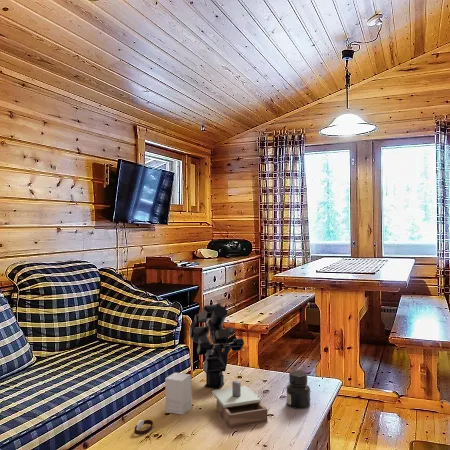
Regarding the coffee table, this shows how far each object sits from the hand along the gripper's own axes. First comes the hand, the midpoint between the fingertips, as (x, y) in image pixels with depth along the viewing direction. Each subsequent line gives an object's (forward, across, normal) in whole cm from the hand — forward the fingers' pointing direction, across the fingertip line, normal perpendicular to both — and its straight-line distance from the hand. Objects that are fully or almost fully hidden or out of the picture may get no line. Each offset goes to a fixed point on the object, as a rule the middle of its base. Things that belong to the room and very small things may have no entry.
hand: (225, 365), depth 178 cm
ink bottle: (+20, +24, -1) cm, 31 cm away
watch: (+20, -35, -1) cm, 40 cm away
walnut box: (+21, 0, -3) cm, 21 cm away
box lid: (+14, 0, -2) cm, 14 cm away
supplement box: (+12, -20, +7) cm, 24 cm away
